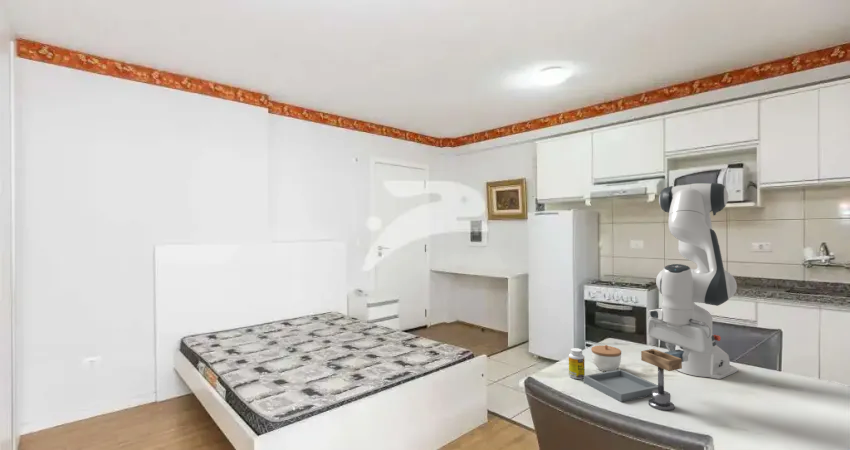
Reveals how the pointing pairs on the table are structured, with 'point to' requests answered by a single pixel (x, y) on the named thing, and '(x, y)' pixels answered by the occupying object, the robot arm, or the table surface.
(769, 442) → the table surface
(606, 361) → the lidded jar
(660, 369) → the plunger
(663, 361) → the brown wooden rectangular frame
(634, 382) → the tray
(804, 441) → the table surface
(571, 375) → the supplement bottle
